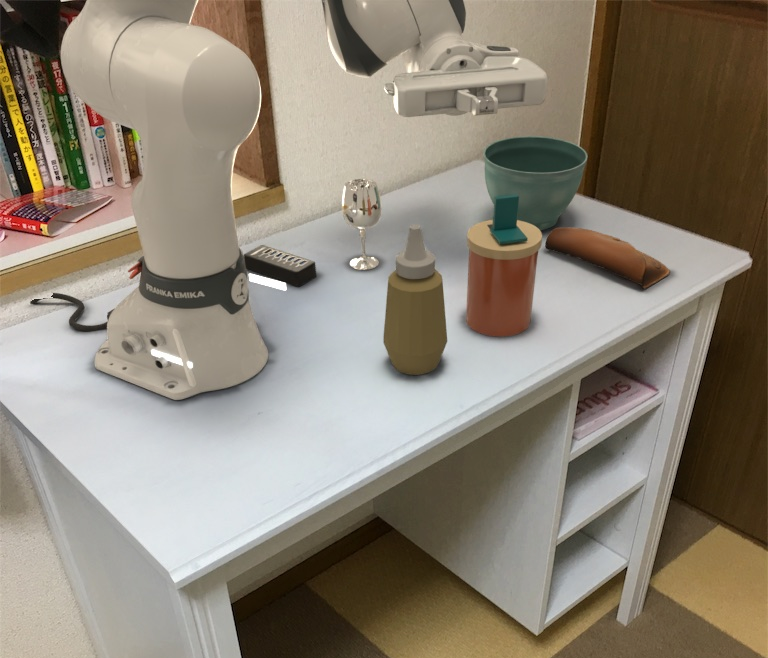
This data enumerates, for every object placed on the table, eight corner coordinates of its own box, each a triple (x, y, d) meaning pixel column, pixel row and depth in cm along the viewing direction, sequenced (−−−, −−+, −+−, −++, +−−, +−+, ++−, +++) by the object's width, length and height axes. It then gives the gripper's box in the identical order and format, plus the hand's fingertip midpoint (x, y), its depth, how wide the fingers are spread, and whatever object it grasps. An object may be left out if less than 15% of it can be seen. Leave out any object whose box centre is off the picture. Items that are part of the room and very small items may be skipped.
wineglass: (375, 274, 122) (372, 194, 114) (340, 269, 124) (334, 190, 116) (388, 257, 126) (386, 179, 118) (353, 253, 128) (349, 175, 120)
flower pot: (584, 206, 139) (594, 139, 131) (570, 246, 127) (579, 176, 120) (491, 197, 143) (495, 132, 135) (469, 235, 131) (472, 167, 124)
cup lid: (552, 254, 101) (553, 245, 101) (480, 263, 100) (480, 254, 99) (525, 224, 108) (526, 215, 107) (458, 232, 107) (458, 223, 106)
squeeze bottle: (441, 384, 101) (445, 244, 88) (377, 378, 102) (372, 240, 90) (451, 349, 106) (455, 214, 94) (390, 344, 108) (387, 210, 95)
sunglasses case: (675, 269, 120) (670, 238, 114) (646, 305, 119) (640, 276, 114) (577, 232, 130) (568, 203, 124) (550, 266, 129) (540, 238, 124)
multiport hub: (298, 287, 120) (297, 273, 118) (244, 268, 125) (242, 254, 123) (317, 275, 123) (316, 261, 121) (263, 258, 127) (262, 243, 126)
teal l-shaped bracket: (527, 241, 101) (530, 205, 98) (499, 244, 100) (502, 209, 97) (516, 227, 104) (519, 193, 101) (489, 231, 103) (491, 196, 100)
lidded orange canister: (540, 331, 109) (549, 253, 102) (477, 340, 108) (481, 262, 100) (517, 300, 115) (524, 225, 108) (457, 309, 114) (460, 233, 107)
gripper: (380, 58, 108) (405, 87, 98) (526, 46, 111) (566, 73, 101) (381, 109, 112) (405, 142, 102) (522, 96, 115) (559, 127, 105)
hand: (486, 108), depth 101 cm, fingers closed
